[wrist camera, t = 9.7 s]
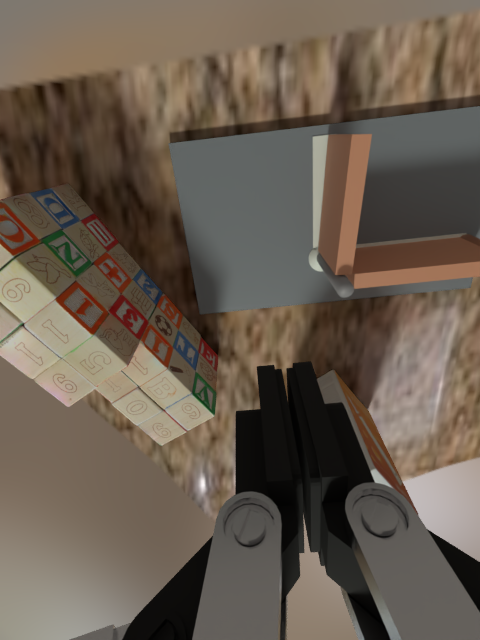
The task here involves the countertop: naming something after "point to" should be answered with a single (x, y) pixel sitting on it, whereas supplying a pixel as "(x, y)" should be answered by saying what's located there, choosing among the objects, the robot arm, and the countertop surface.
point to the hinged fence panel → (342, 207)
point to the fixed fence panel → (416, 262)
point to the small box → (363, 432)
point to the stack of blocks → (96, 318)
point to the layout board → (320, 204)
